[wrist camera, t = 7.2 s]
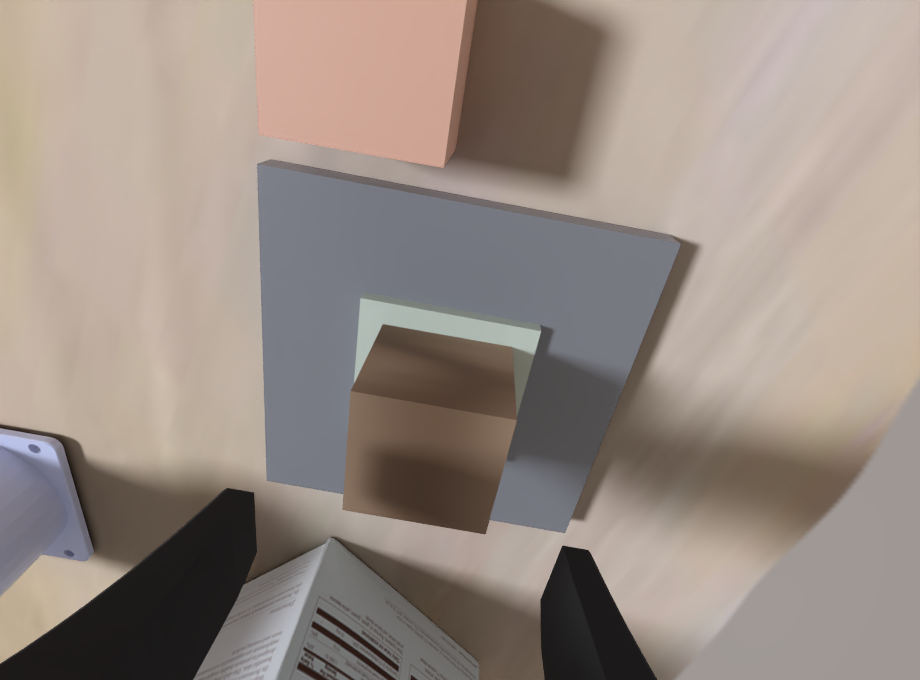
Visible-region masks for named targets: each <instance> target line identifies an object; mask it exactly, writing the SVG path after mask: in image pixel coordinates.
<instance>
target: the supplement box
mask: <svg viewBox="0 0 920 680" xmlns="http://www.w3.org/2000/svg"><path fill="white" fill-rule="evenodd" d="M193 680H479V663H478V661H477V660H476V659H474V658H473V657H472V656H471V655H470V654H469V653H468V652H467V651H465V650H464V649H463V648H462V647H461V646H460V645H458V644H457V643H456V642H455V641H454V640H453V639H451V638H450V637H449V636H448V635H447V634H446V633H444V632H443V631H442V630H441V629H440V628H439V627H437V626H436V625H435V624H434V623H433V622H432V621H430V620H429V619H428V618H427V617H426V616H425V615H424V614H422V613H421V612H420V611H419V610H418V609H417V608H415V607H414V606H413V605H412V604H411V603H410V602H408V601H407V600H406V599H405V598H404V597H402V596H401V595H400V594H399V593H398V592H397V591H395V590H394V589H393V588H392V587H391V586H390V585H389V584H387V583H386V582H385V581H384V580H383V579H382V578H380V577H379V576H378V575H377V574H376V573H375V572H373V571H372V570H371V569H370V568H369V567H368V566H366V565H365V564H364V563H363V562H362V561H360V560H359V559H358V558H357V557H356V556H354V555H353V554H352V553H351V552H350V551H348V550H347V549H346V548H345V547H344V546H343V545H342V544H341V543H339V542H338V541H337V540H335V539H334V538H328V540H327V542H326V543H325V544H323V545H321V546H319V547H317V548H315V549H313V550H311V551H309V552H307V553H305V554H303V555H301V556H299V557H297V558H295V559H293V560H291V561H289V562H287V563H285V564H284V565H282V566H280V567H278V568H276V569H274V570H272V571H270V572H268V573H266V574H264V575H262V576H260V577H258V578H256V579H254V580H252V581H250V582H248V583H246V584H244V585H243V587H242V589H241V591H240V594H239V596H238V598H237V600H236V602H235V604H234V606H233V608H232V610H231V611H230V613H229V615H228V617H227V619H226V621H225V623H224V624H223V626H222V628H221V630H220V632H219V634H218V635H217V637H216V639H215V641H214V643H213V645H212V646H211V648H210V650H209V652H208V654H207V656H206V657H205V659H204V661H203V663H202V665H201V666H200V668H199V670H198V672H197V674H196V676H195V677H194V679H193Z"/></svg>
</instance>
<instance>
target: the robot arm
mask: <svg viewBox="0 0 920 680" xmlns="http://www.w3.org/2000/svg"><path fill="white" fill-rule="evenodd" d="M93 553H94V550H93V547H92V543H91V540H90V536H89V533H88V529H87V526H86V523H85V519H84V516H83V512H82V509H81V506H80V502H79V499H78V495H77V492H76V488H75V485H74V482H73V478H72V475H71V471H70V468H69V464H68V461H67V458H66V454H65V451H64V447H63V445H62V443H61V442H60V441H58V440H57V439H55V438H52V437H47V436H41V435H36V434H30V433H24V432H19V431H13V430H7V429H2V428H0V597H1V596H2V595H3V594H4V593H5V592H6V591H7V590H8V589H9V587H10V586H11V585H12V584H13V583H14V582H15V581H16V580H17V579H18V578H19V577H20V576H21V575H22V574H23V573H24V572H25V571H26V570H27V569H28V568H29V567H30V566H31V565H32V564H33V563H34V562H35V561H36V560H37V559H38V558H39V557H40V556H41V555H42V554H43V555H49V556H55V557H61V558H67V559H73V560H78V561H86V560H88V559H89V558H90V557H91V556H92V555H93ZM256 553H257V546H256V525H255V504H254V493H253V492H247V491H242V490H236V489H230V488H227V489H225V490H224V491H222V492H221V493H220V494H219V495H218V496H217V497H216V498H214V499H213V500H212V501H211V502H210V503H209V504H208V505H207V506H206V507H204V508H203V509H202V510H201V511H200V512H199V513H198V514H197V515H195V516H194V517H193V518H192V519H191V520H190V521H189V522H188V523H186V524H185V525H184V526H183V527H182V528H181V529H179V530H178V531H177V532H176V533H175V534H174V535H172V536H171V537H170V538H169V539H168V540H167V541H165V542H164V543H163V544H162V545H161V546H159V547H158V548H157V549H156V550H155V551H153V552H152V553H151V554H150V555H148V556H147V557H146V558H145V559H144V560H142V561H141V562H140V563H139V564H138V565H136V566H135V567H134V568H133V569H131V570H130V571H129V572H128V573H126V574H125V575H124V576H123V577H121V578H120V579H119V580H117V581H116V582H115V583H113V584H112V585H111V586H110V587H108V588H107V589H106V590H104V591H103V592H102V593H100V594H99V595H98V596H96V597H95V598H94V599H93V600H91V601H90V602H89V603H87V604H86V605H85V606H83V607H82V608H81V609H79V610H78V611H76V612H75V613H74V614H72V615H71V616H70V617H68V618H67V619H65V620H64V621H63V622H61V623H60V624H58V625H57V626H56V627H54V628H53V629H51V630H50V631H48V632H47V633H45V634H44V635H43V636H41V637H40V638H38V639H37V640H35V641H34V642H32V643H31V644H29V645H28V646H27V647H25V648H24V649H22V650H21V651H19V652H18V653H16V654H14V655H13V656H11V657H10V658H8V659H7V660H5V661H4V662H2V663H0V680H193V679H194V677H195V676H196V674H197V672H198V670H199V668H200V666H201V665H202V663H203V661H204V659H205V657H206V656H207V654H208V652H209V650H210V648H211V646H212V645H213V643H214V641H215V639H216V637H217V635H218V634H219V632H220V630H221V628H222V626H223V624H224V623H225V621H226V619H227V617H228V615H229V613H230V611H231V610H232V608H233V606H234V604H235V602H236V600H237V598H238V596H239V594H240V591H241V589H242V587H243V584H244V582H245V580H246V577H247V575H248V572H249V570H250V567H251V565H252V563H253V560H254V558H255V555H256ZM541 650H542V659H543V668H544V676H545V680H657V678H656V677H655V675H654V673H653V671H652V670H651V668H650V666H649V665H648V663H647V661H646V659H645V658H644V656H643V654H642V652H641V650H640V649H639V647H638V645H637V643H636V641H635V639H634V638H633V636H632V634H631V632H630V630H629V629H628V627H627V625H626V623H625V621H624V619H623V617H622V615H621V614H620V612H619V610H618V608H617V606H616V604H615V602H614V600H613V598H612V596H611V594H610V592H609V590H608V588H607V586H606V584H605V582H604V580H603V578H602V576H601V574H600V572H599V570H598V567H597V565H596V563H595V561H594V559H593V557H592V555H591V553H590V552H589V551H588V550H585V549H579V548H573V547H567V546H562V548H561V551H560V553H559V556H558V558H557V560H556V563H555V565H554V568H553V570H552V573H551V575H550V578H549V580H548V583H547V585H546V588H545V590H544V593H543V595H542V598H541Z"/></svg>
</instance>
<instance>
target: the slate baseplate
mask: <svg viewBox="0 0 920 680" xmlns="http://www.w3.org/2000/svg"><path fill="white" fill-rule="evenodd" d="M257 173H258V206H259V239H260V272H261V305H262V338H263V371H264V404H265V437H266V470H267V481H272V482H277V483H283V484H289V485H294V486H300V487H306V488H311V489H317V490H323V491H328V492H334V493H340V494H344V481H345V466H346V451H347V436H348V421H349V406H350V391H351V389H352V387H353V385H354V383H355V381H356V379H357V377H358V374H359V372H360V370H361V368H362V366H363V364H364V362H365V360H366V358H367V356H368V354H369V352H370V350H371V348H372V345H373V343H374V341H375V339H376V337H377V335H378V333H379V331H380V329H381V327H382V325H383V324H386V325H391V326H397V327H403V328H408V329H414V330H420V331H425V332H431V333H436V334H442V335H448V336H453V337H459V338H465V339H470V340H476V341H481V342H487V343H493V344H498V345H504V346H509V347H513V363H514V380H515V396H516V412H517V422H516V426H515V429H514V433H513V437H512V440H511V444H510V447H509V451H508V455H507V458H506V462H505V465H504V469H503V473H502V476H501V480H500V483H499V487H498V491H497V494H496V498H495V502H494V505H493V509H492V512H491V516H490V520H493V521H499V522H505V523H510V524H516V525H522V526H527V527H533V528H539V529H544V530H550V531H556V532H561V533H565V532H566V530H567V527H568V525H569V522H570V520H571V517H572V515H573V512H574V510H575V507H576V505H577V502H578V500H579V497H580V495H581V492H582V490H583V487H584V485H585V482H586V480H587V477H588V475H589V472H590V470H591V467H592V465H593V462H594V460H595V457H596V455H597V452H598V450H599V447H600V445H601V442H602V440H603V437H604V435H605V432H606V430H607V427H608V425H609V422H610V420H611V417H612V415H613V412H614V410H615V408H616V405H617V403H618V400H619V398H620V395H621V393H622V390H623V388H624V385H625V383H626V380H627V378H628V375H629V373H630V370H631V368H632V365H633V363H634V360H635V358H636V355H637V353H638V350H639V348H640V345H641V343H642V340H643V338H644V335H645V333H646V330H647V328H648V325H649V323H650V320H651V318H652V315H653V313H654V310H655V308H656V305H657V303H658V300H659V298H660V295H661V293H662V290H663V288H664V285H665V283H666V280H667V278H668V276H669V273H670V271H671V268H672V266H673V263H674V261H675V258H676V256H677V253H678V251H679V248H680V246H681V243H679V242H678V241H677V240H676V239H675V238H673V237H672V236H671V235H668V234H662V233H657V232H652V231H646V230H641V229H636V228H631V227H625V226H620V225H615V224H609V223H604V222H599V221H594V220H588V219H583V218H578V217H572V216H567V215H562V214H557V213H551V212H546V211H541V210H535V209H530V208H525V207H520V206H514V205H509V204H504V203H499V202H493V201H488V200H483V199H477V198H472V197H467V196H462V195H456V194H451V193H446V192H440V191H435V190H430V189H425V188H419V187H414V186H409V185H403V184H398V183H393V182H388V181H382V180H377V179H372V178H366V177H361V176H356V175H351V174H345V173H340V172H335V171H329V170H324V169H319V168H314V167H308V166H303V165H298V164H292V163H287V162H282V161H277V160H268V161H265V162H262V163H258V164H257Z"/></svg>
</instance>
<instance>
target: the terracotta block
mask: <svg viewBox="0 0 920 680" xmlns="http://www.w3.org/2000/svg"><path fill="white" fill-rule="evenodd" d="M477 2H478V0H253V3H254V29H255V56H256V82H257V108H258V134H259V135H262V136H268V137H274V138H279V139H285V140H290V141H296V142H301V143H307V144H313V145H318V146H324V147H329V148H335V149H340V150H346V151H352V152H357V153H363V154H368V155H374V156H379V157H385V158H391V159H396V160H402V161H407V162H413V163H419V164H424V165H430V166H435V167H441V168H444V167H445V165H446V164H447V162H448V161H449V159H450V158H451V156H452V155H453V153H454V151H455V150H456V146H457V139H458V132H459V125H460V118H461V112H462V105H463V98H464V91H465V84H466V77H467V71H468V64H469V57H470V50H471V43H472V36H473V30H474V23H475V16H476V9H477Z"/></svg>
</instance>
